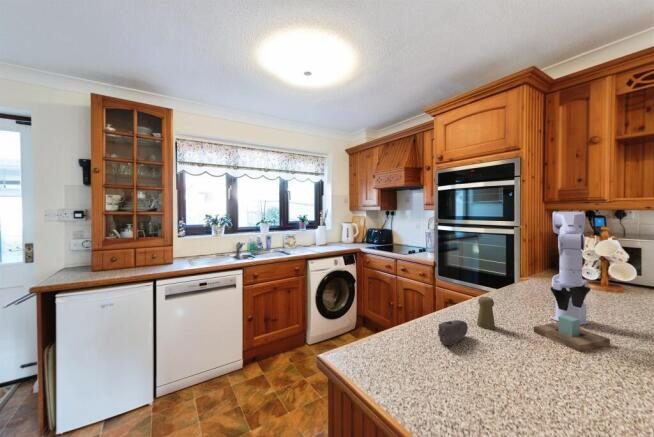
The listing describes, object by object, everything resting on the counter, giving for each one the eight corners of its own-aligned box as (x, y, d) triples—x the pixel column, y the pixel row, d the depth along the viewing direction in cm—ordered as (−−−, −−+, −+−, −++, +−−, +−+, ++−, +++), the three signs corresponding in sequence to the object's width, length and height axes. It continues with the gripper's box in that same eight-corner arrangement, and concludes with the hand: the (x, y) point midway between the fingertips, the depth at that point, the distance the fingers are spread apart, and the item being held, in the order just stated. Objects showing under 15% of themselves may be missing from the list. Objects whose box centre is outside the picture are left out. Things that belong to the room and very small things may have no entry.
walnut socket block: (561, 327, 99) (561, 321, 99) (609, 345, 86) (610, 339, 86) (533, 332, 95) (533, 326, 95) (579, 351, 82) (579, 345, 82)
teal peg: (565, 334, 93) (565, 314, 93) (579, 339, 90) (579, 319, 89) (558, 336, 92) (558, 316, 92) (572, 341, 88) (572, 321, 88)
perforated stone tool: (459, 332, 96) (460, 313, 96) (474, 338, 91) (474, 318, 91) (432, 343, 88) (432, 322, 88) (446, 350, 84) (446, 328, 83)
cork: (498, 330, 97) (498, 300, 97) (480, 328, 98) (480, 299, 98) (491, 323, 103) (491, 295, 103) (474, 322, 104) (474, 294, 104)
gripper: (570, 265, 96) (569, 301, 96) (543, 268, 91) (542, 307, 92) (595, 268, 89) (594, 308, 90) (567, 272, 85) (567, 314, 85)
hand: (570, 308), depth 90 cm, fingers open, 7 cm apart
